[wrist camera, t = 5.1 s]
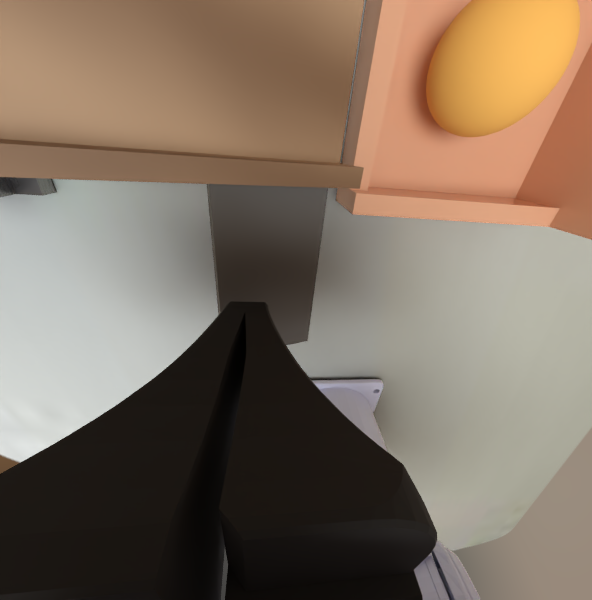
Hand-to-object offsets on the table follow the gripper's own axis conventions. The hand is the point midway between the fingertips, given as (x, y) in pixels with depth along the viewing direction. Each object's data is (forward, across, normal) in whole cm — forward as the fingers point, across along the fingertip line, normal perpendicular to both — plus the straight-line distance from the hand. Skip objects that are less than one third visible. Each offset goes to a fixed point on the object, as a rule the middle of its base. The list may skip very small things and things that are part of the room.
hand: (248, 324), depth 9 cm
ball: (+3, -8, -9) cm, 12 cm away
